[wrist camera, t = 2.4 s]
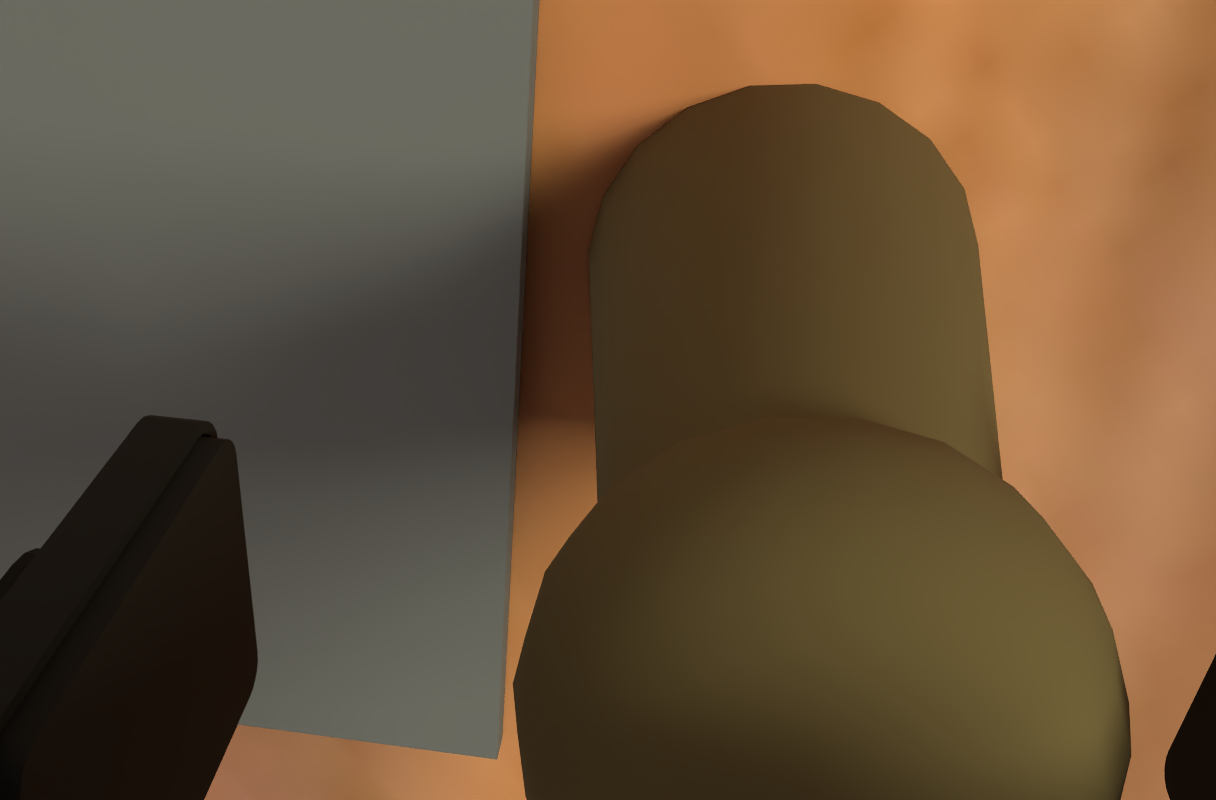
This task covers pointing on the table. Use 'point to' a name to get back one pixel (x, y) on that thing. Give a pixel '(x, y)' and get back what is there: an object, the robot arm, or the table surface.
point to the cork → (806, 495)
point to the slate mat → (287, 317)
